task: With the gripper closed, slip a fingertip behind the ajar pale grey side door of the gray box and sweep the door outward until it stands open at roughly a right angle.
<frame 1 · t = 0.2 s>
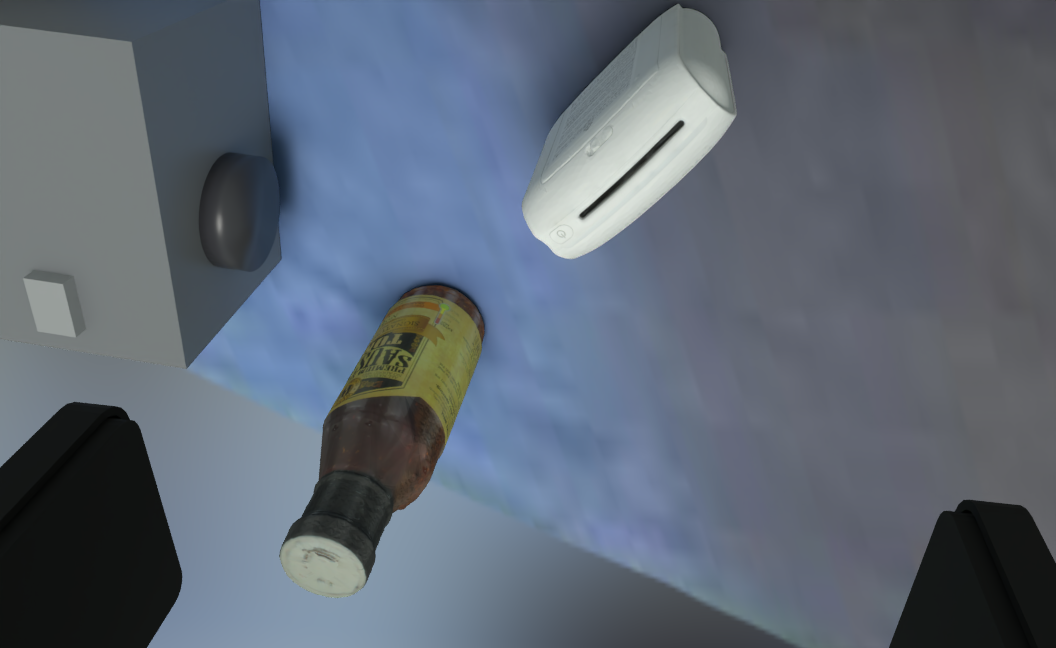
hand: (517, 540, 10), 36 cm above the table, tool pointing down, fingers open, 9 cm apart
photo printer: (634, 91, 43), on the table
sauce bottle: (438, 322, 53), on the table
gray box: (170, 121, 48), on the table
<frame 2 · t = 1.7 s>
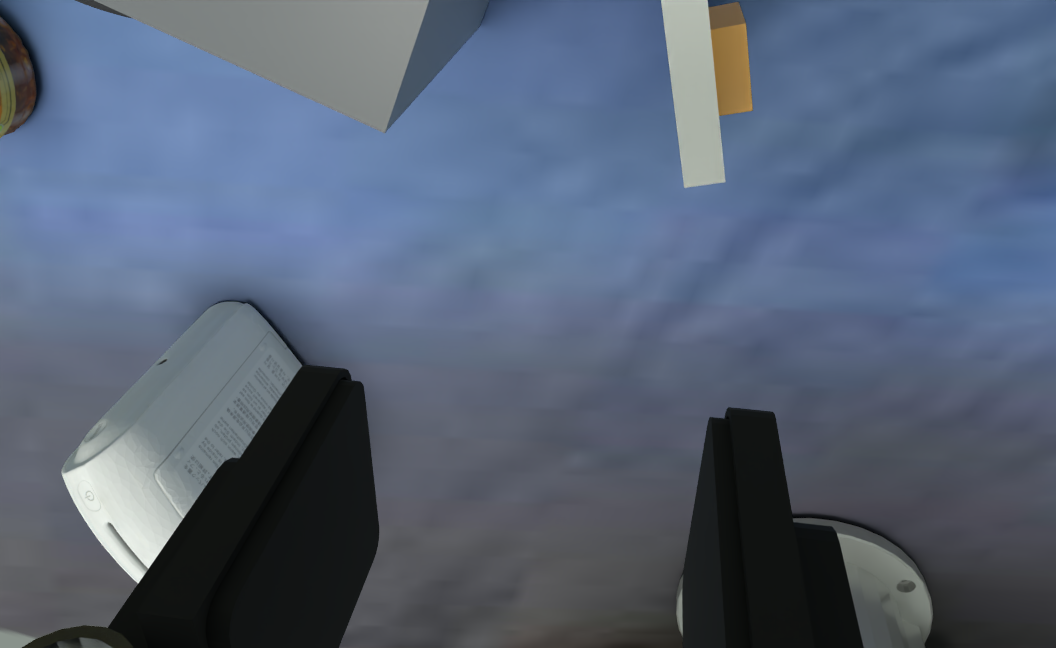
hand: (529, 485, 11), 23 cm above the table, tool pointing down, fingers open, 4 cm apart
photo printer: (281, 380, 41), on the table
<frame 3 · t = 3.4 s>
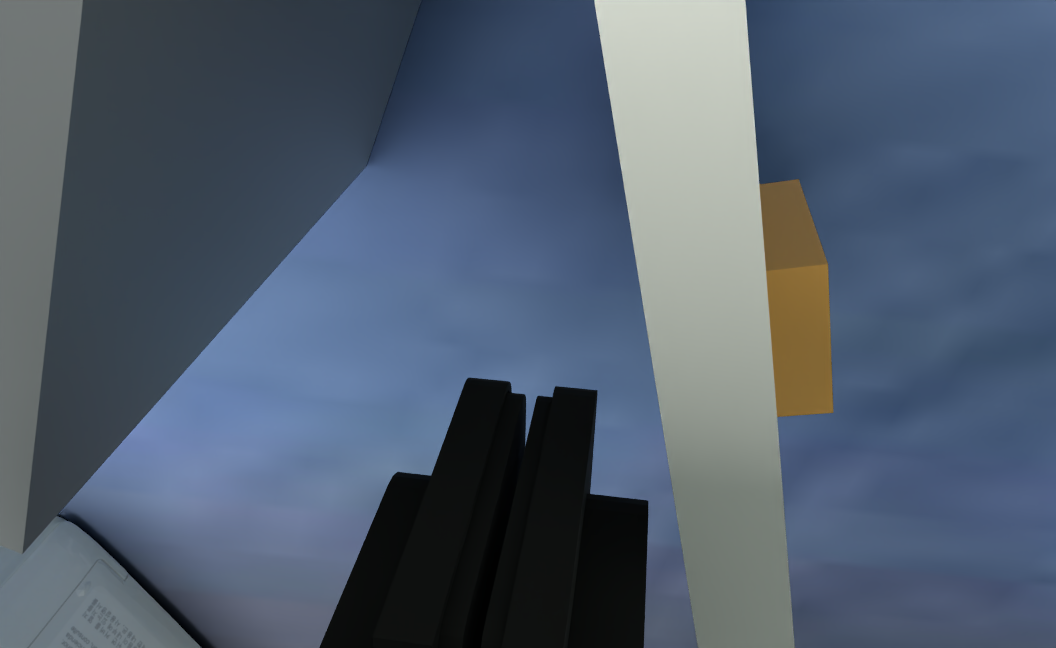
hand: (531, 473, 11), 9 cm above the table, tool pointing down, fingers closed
photo printer: (131, 607, 30), on the table
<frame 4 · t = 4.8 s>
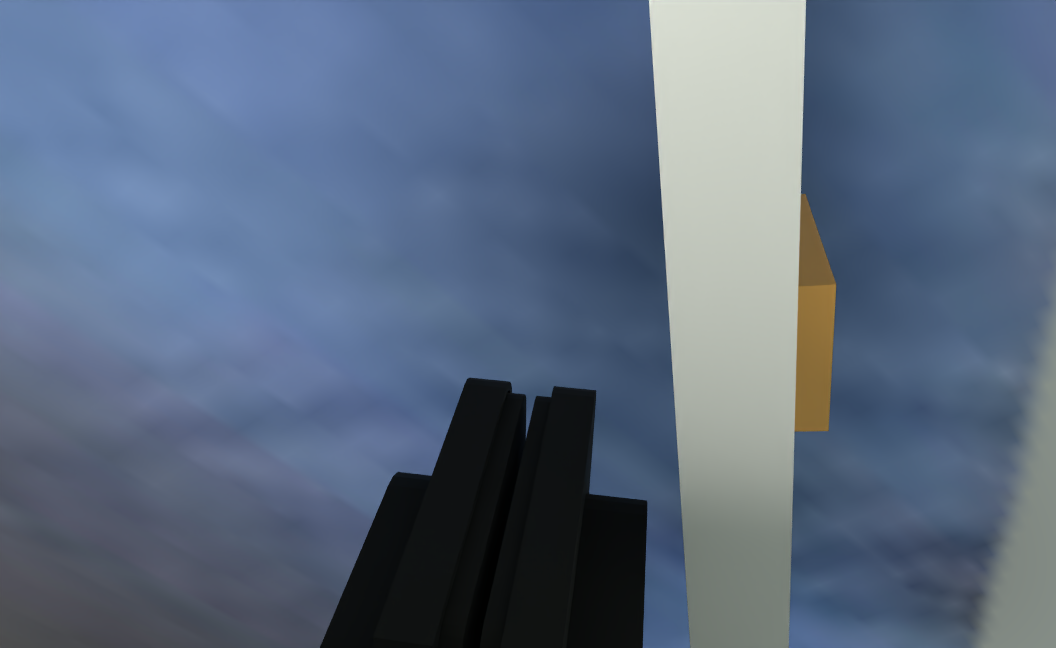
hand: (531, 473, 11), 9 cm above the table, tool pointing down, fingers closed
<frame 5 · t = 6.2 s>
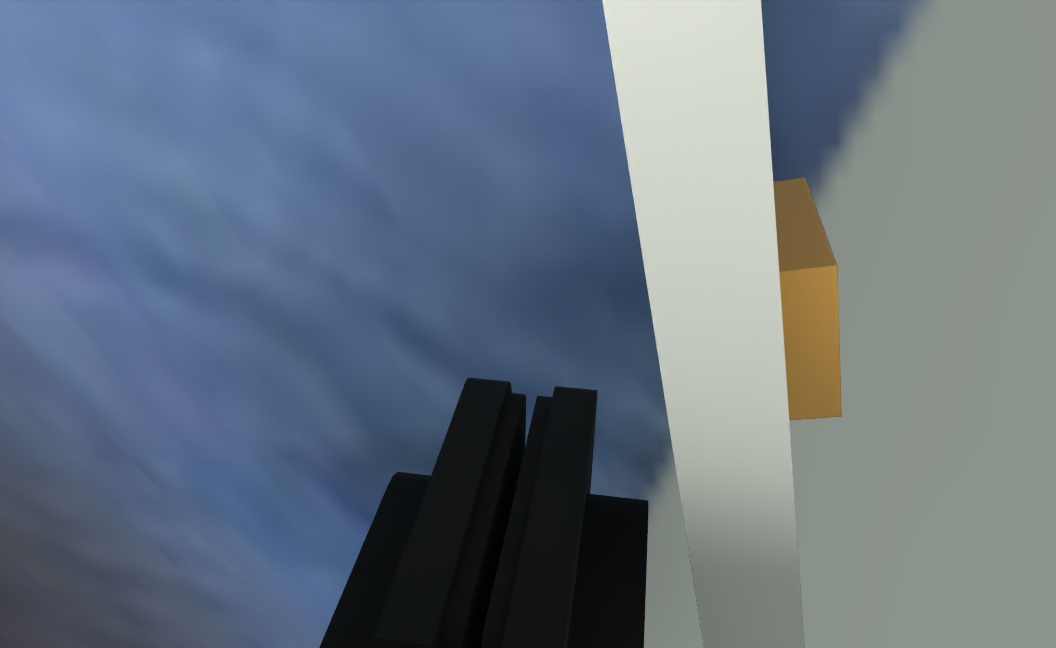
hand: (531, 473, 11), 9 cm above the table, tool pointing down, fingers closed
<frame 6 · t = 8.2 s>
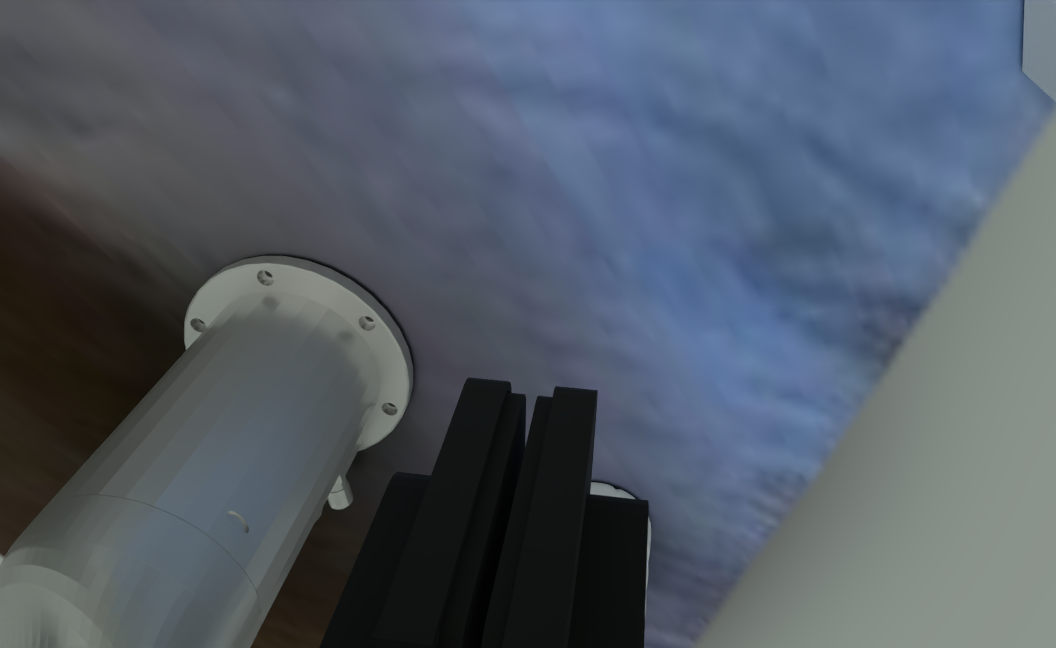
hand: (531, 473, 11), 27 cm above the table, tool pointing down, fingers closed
water bottle: (577, 519, 49), on the table
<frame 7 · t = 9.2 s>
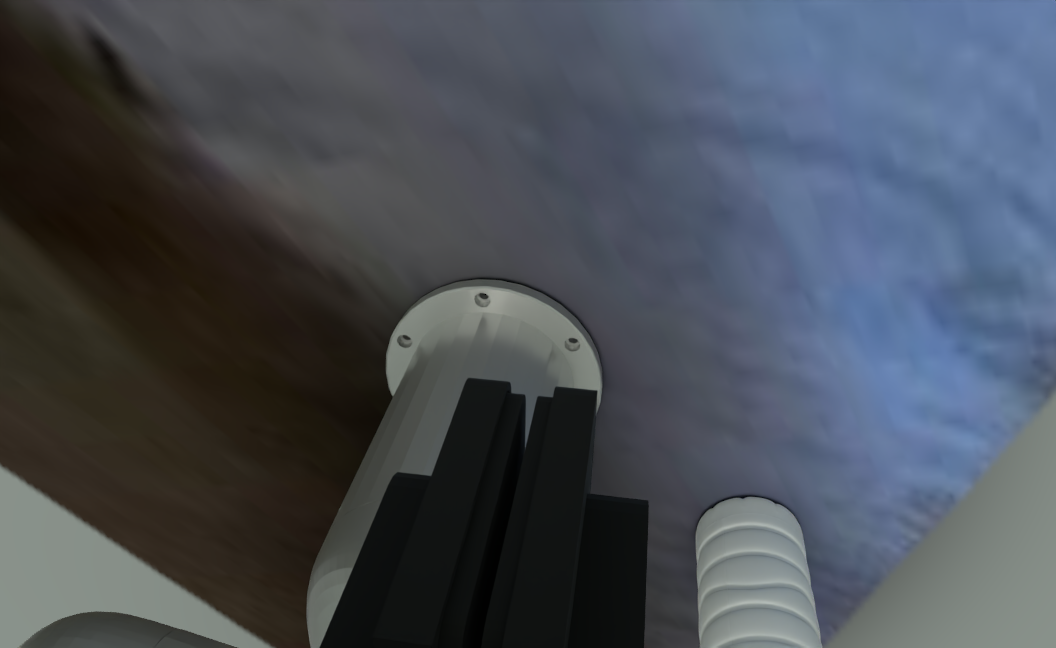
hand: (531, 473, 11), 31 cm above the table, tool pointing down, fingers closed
water bottle: (729, 531, 53), on the table
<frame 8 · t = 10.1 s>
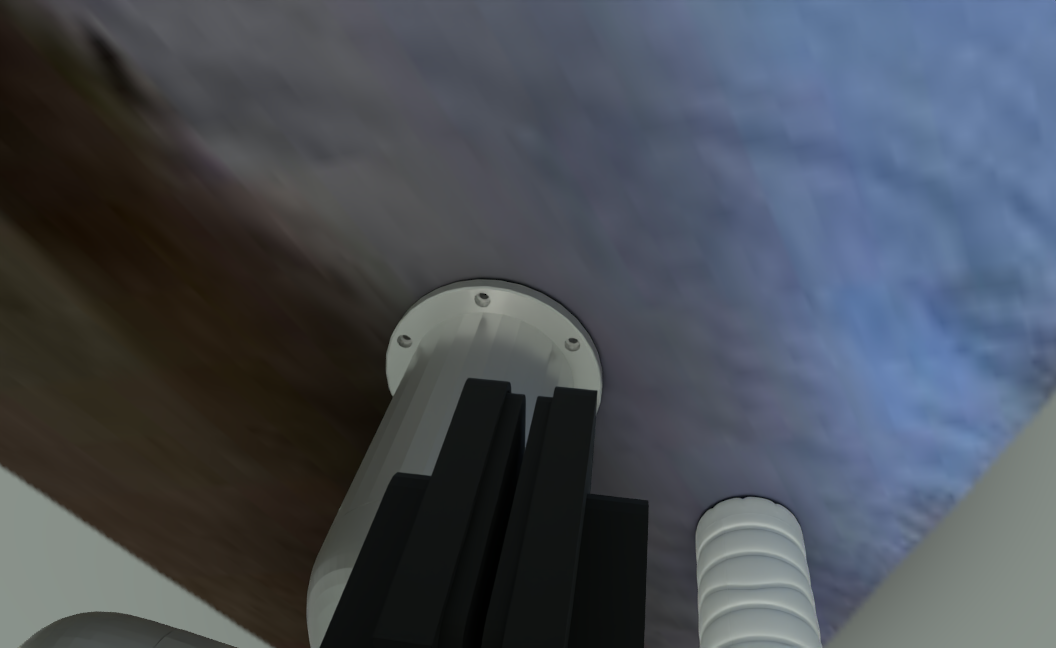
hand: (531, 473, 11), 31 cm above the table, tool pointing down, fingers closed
water bottle: (729, 531, 53), on the table
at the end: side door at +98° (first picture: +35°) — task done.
